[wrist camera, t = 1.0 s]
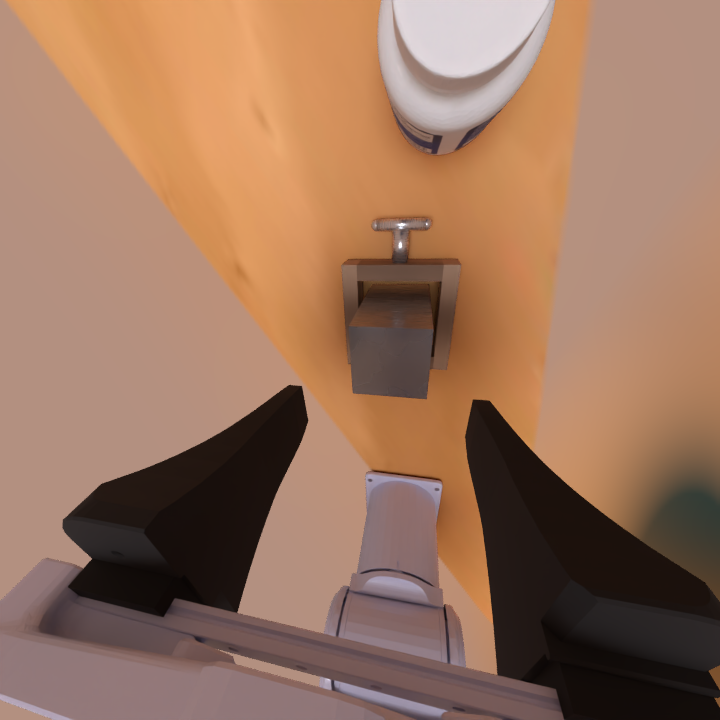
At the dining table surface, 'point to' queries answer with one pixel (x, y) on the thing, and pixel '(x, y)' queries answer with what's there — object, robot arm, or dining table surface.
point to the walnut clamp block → (406, 271)
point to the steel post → (392, 341)
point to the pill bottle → (456, 63)
